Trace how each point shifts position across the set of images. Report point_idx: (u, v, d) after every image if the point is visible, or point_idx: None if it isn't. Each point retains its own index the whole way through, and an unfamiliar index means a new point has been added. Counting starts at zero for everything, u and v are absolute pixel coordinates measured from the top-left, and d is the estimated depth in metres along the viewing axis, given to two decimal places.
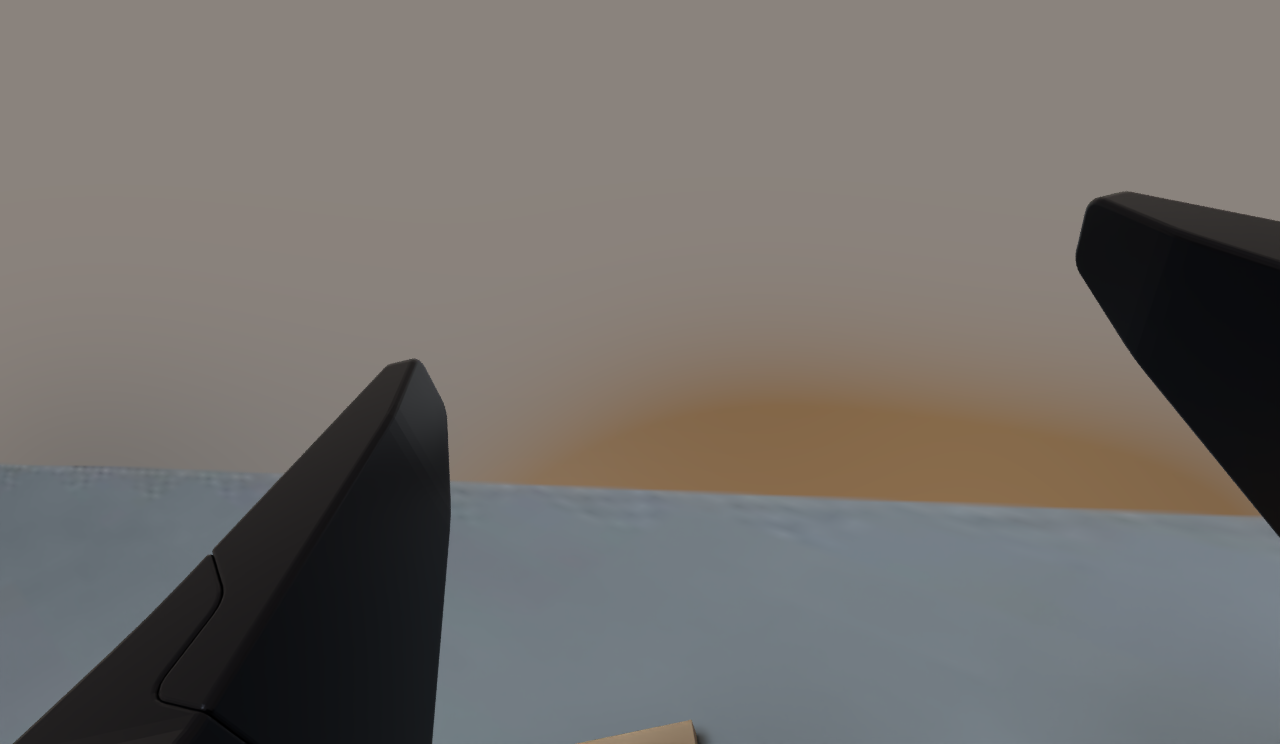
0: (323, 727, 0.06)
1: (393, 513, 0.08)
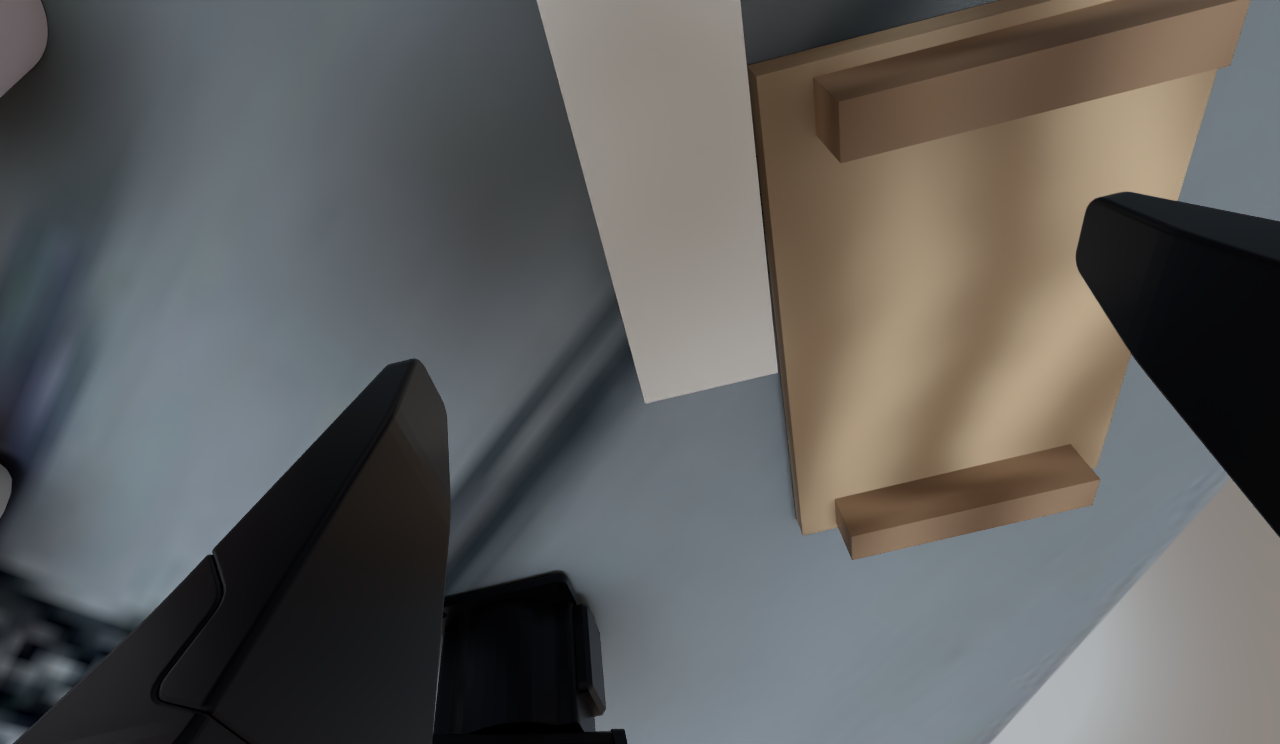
0: (323, 727, 0.06)
1: (393, 513, 0.08)
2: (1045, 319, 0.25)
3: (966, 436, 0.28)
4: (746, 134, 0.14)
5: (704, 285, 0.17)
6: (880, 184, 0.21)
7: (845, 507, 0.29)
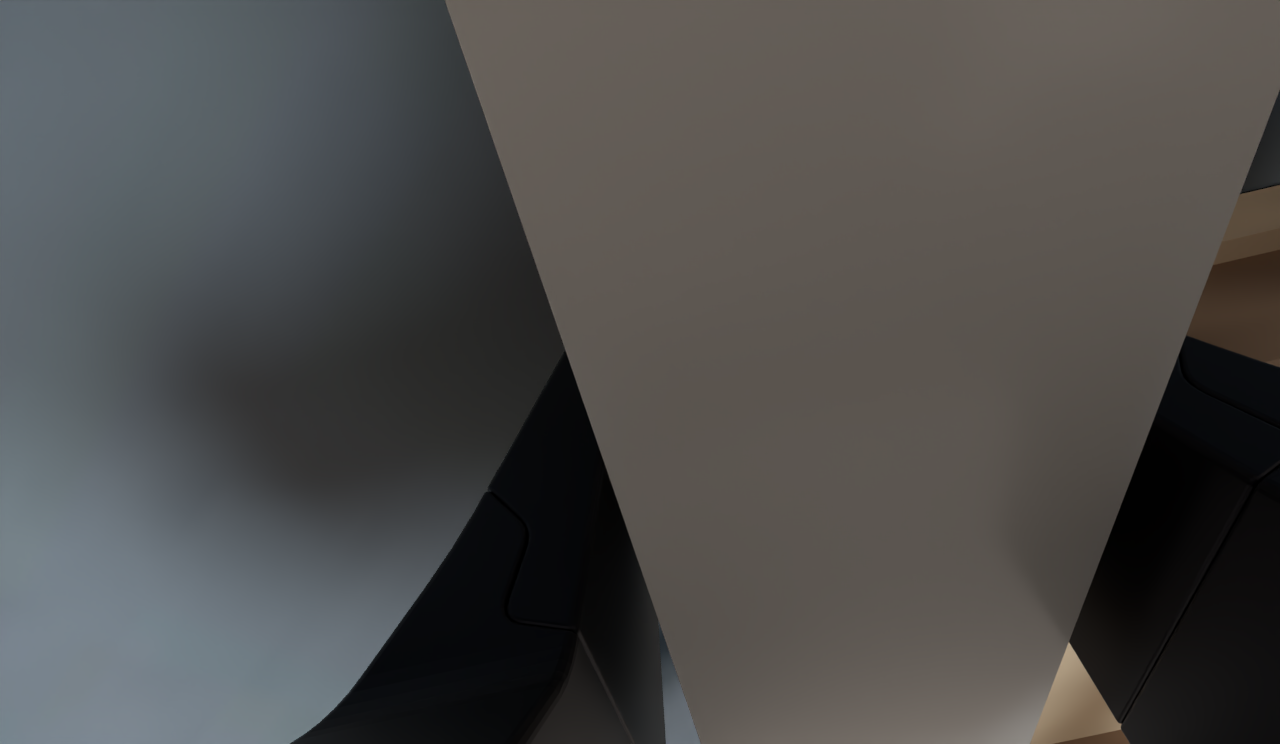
0: (621, 662, 0.06)
1: None
2: None
3: None
4: (1070, 601, 0.06)
5: None
6: None
7: None
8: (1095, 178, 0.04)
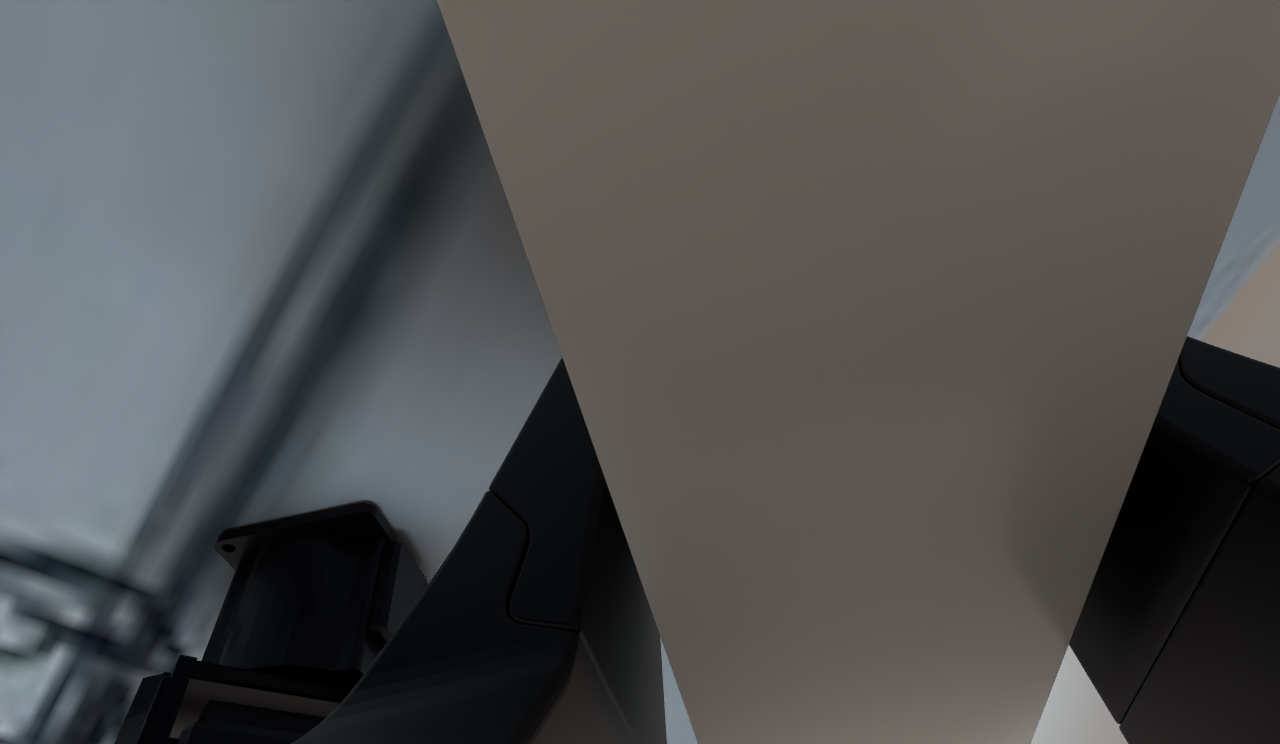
0: (623, 662, 0.06)
1: None
2: None
3: None
4: (1071, 602, 0.06)
5: None
6: None
7: None
8: (1095, 173, 0.03)
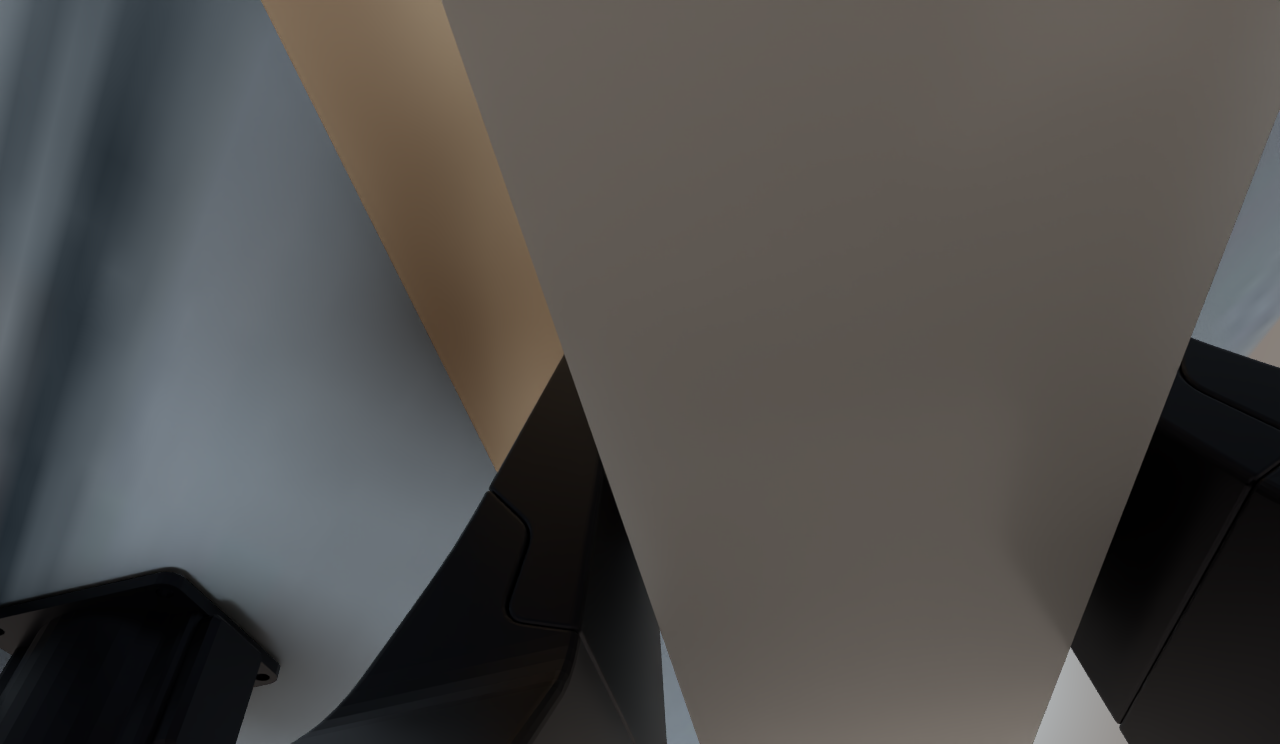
0: (623, 662, 0.06)
1: None
2: None
3: None
4: (1073, 604, 0.06)
5: None
6: None
7: None
8: (1102, 175, 0.03)
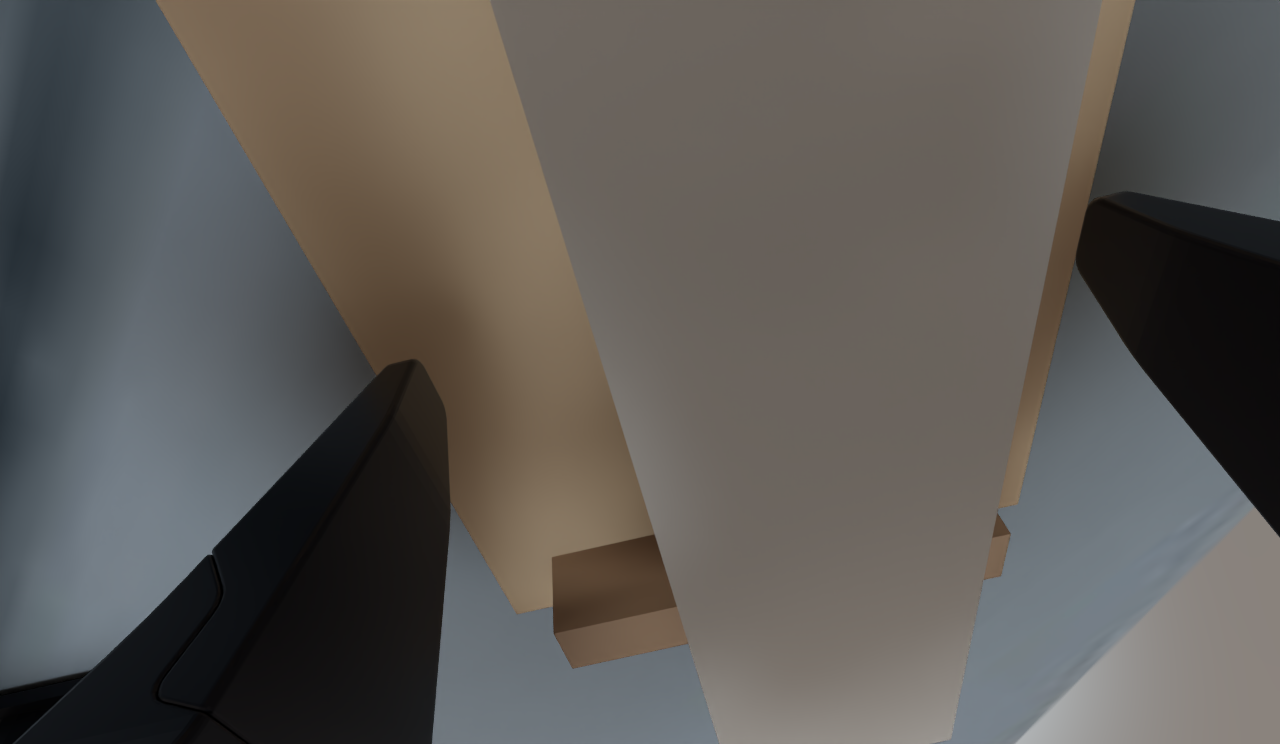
0: (323, 727, 0.06)
1: (393, 513, 0.08)
2: None
3: None
4: (991, 478, 0.07)
5: (856, 662, 0.09)
6: None
7: (563, 574, 0.16)
8: (966, 85, 0.05)
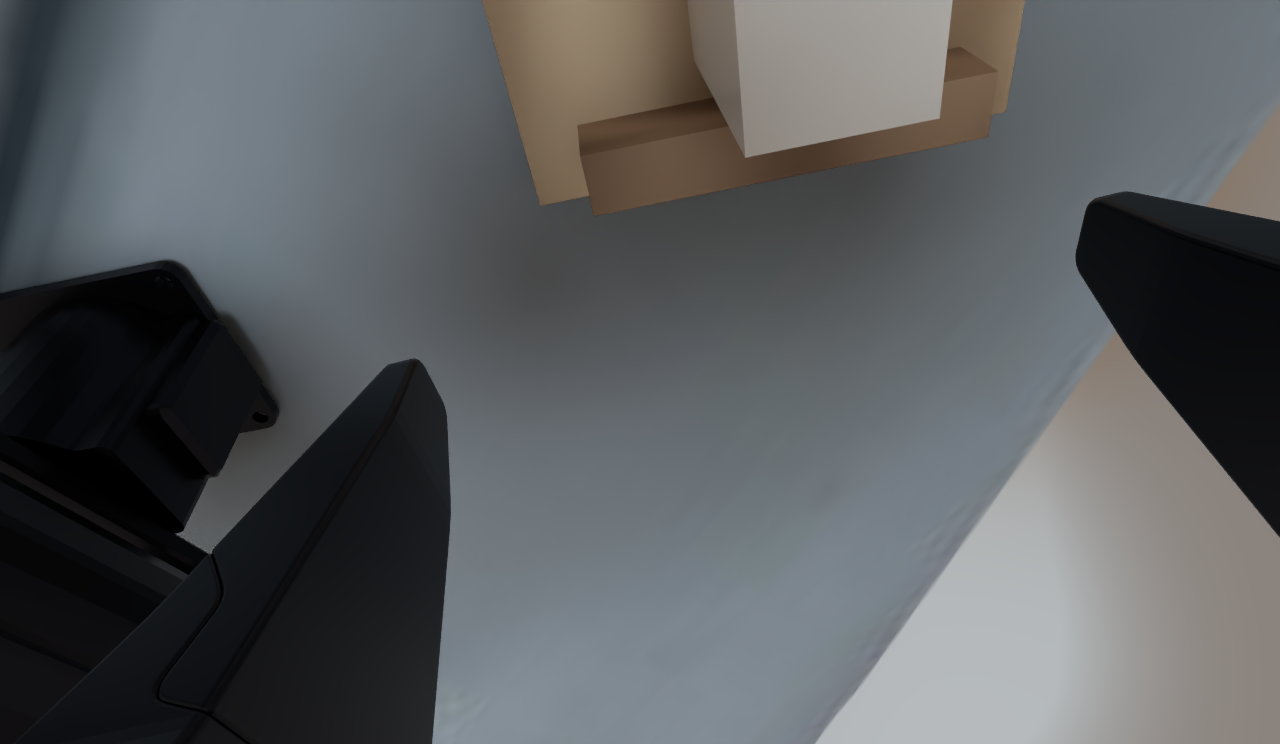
0: (323, 727, 0.06)
1: (393, 513, 0.08)
2: None
3: None
4: None
5: None
6: None
7: (588, 131, 0.18)
8: None
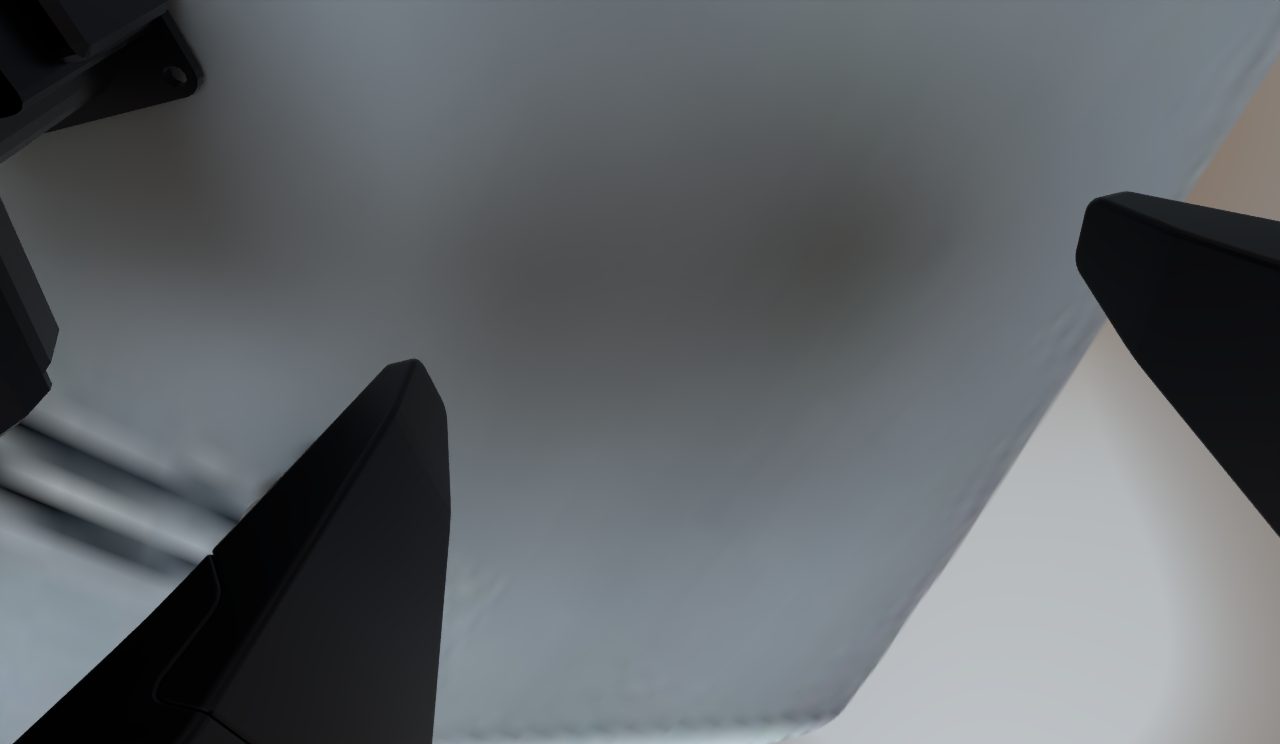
0: (323, 727, 0.06)
1: (393, 513, 0.08)
2: None
3: None
4: None
5: None
6: None
7: None
8: None
